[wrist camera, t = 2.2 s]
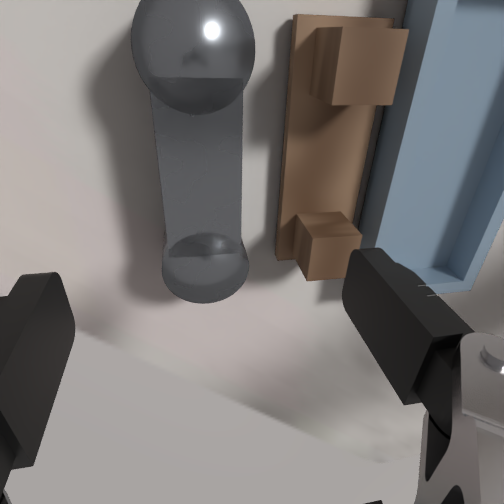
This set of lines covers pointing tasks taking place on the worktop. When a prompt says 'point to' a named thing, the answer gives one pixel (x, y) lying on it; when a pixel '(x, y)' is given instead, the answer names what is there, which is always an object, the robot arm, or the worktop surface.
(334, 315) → the worktop surface
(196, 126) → the steel dumbbell
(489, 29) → the slate-blue tray
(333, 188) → the wooden plank with blocks
